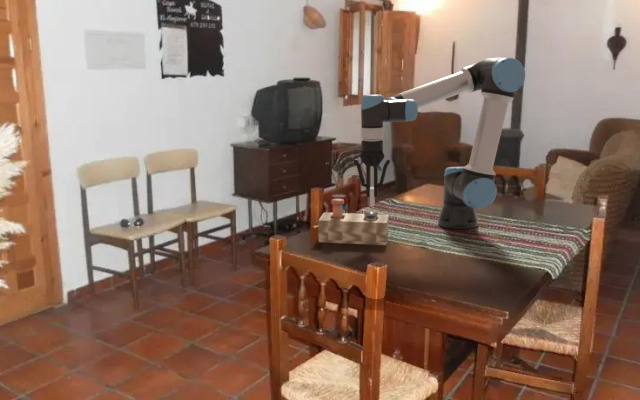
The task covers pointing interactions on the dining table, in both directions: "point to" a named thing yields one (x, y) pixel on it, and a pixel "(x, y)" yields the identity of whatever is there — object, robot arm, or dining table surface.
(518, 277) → the dining table surface
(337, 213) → the terracotta plug
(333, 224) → the block
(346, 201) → the beverage can
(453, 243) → the dining table surface
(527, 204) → the dining table surface
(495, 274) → the dining table surface
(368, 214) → the grey plug
